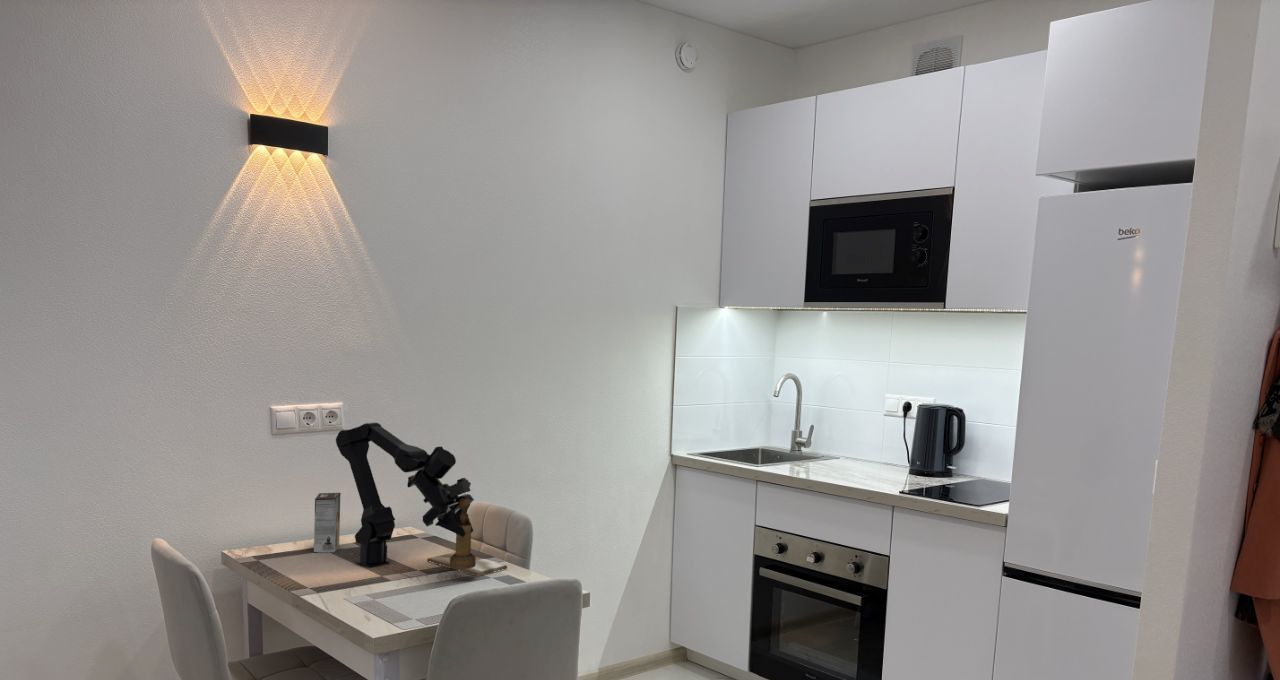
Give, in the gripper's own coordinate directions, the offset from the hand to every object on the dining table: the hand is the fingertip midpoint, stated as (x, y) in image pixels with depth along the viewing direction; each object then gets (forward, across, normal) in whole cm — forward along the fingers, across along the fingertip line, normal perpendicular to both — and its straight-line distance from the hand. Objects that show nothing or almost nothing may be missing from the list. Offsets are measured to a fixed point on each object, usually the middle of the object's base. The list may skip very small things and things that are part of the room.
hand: (468, 533), depth 226 cm
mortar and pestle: (+5, 0, +7) cm, 9 cm away
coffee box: (-29, +15, +47) cm, 57 cm away
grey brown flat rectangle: (+4, +13, +13) cm, 19 cm away
